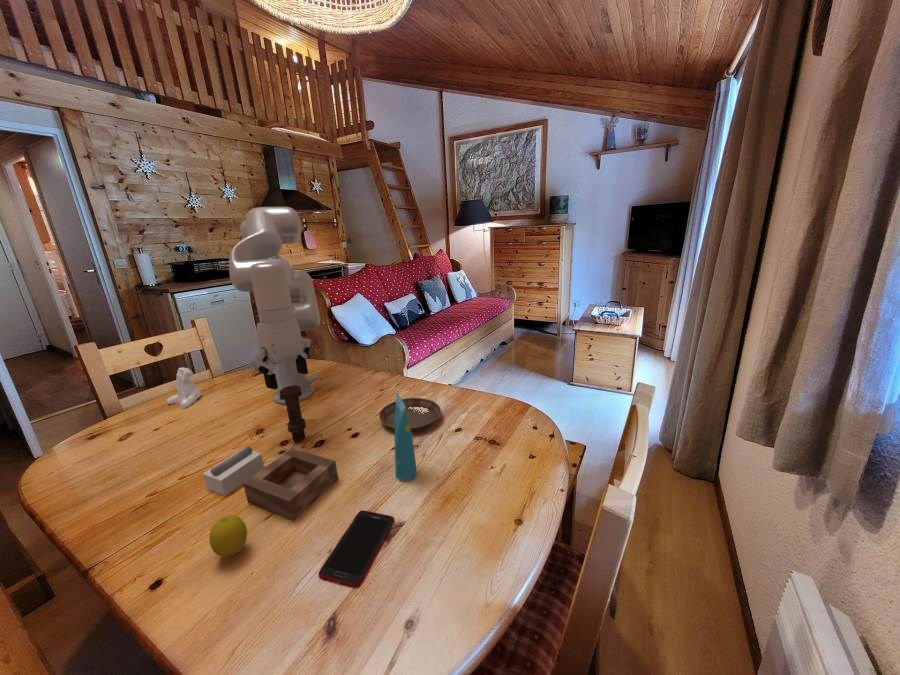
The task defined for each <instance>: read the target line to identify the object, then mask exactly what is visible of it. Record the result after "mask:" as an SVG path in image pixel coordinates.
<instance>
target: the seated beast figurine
mask: <svg viewBox="0 0 900 675" xmlns="http://www.w3.org/2000/svg"><path fill="white" fill-rule="evenodd" d="M176 372H177V373H176V381H177V383H176V384H177V385H176V386H175V387H176V390H177V394H175V395H172V396H171V395H170V397H168V398H166V403H167V405H169V404H171V405H174V404H173V403H179V404H178V405H179V407H180V409H182V408H185V409H187V408H189V407H191V406H192V405H193V404H194V403H195V402H196V401H198V400H199V399H200V397H201V393H202V391H201V389H200V388H199V387H198V386H196V384H195V383H194V382H193V380H191V377H192V376H193V374H194V371H192V370H191V369H190V368H188V367H184V366H183V367H179V368H178V369H177V371H176ZM198 398H199V399H198ZM197 399H198V400H197ZM192 403H193V404H192ZM191 404H192V405H191ZM169 406H170V405H169ZM188 406H189V407H188ZM186 407H187V408H186Z"/></svg>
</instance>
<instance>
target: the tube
mask: <svg viewBox="0 0 900 675" xmlns="http://www.w3.org/2000/svg"><path fill="white" fill-rule="evenodd" d="M395 401H396V406H395V431H394V468H395V469H394V472H395V474H394V475H395V478H396V479H397V480H399V481H402V482H409V481H412V480H413V479H414V478H416V476H417V472H418V470H417V462H416V455H415V453H416V452H415V449H414V447H415V446H414V440H413V435H412V434H413V433H411V428H410V424H409V420H408V417H407V414H406V411H405V408H406V407H405V405H404V403H403V401H402V398H401V396H400V394H399V393H398V392H396V398H395Z"/></svg>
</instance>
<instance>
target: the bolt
mask: <svg viewBox="0 0 900 675" xmlns="http://www.w3.org/2000/svg"><path fill="white" fill-rule="evenodd" d="M279 392H280V399H281V400H285V403H286V404H285V405H286V407H285V408H286V410H287V417H288V422H287V430H288V433H291V437H292V441H293V442H294V443H298V444H299V443H302V442H303V441H304V440H305V438H306V432H305V429H306V428H307V424H306V419H305V418H303V416H302V411H301V405H300V402H299V396H301V395H302V393H301V387H300V386H296V385H294V386H288V387H284V388H283V389H281V390H280V391H279Z"/></svg>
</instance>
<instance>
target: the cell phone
mask: <svg viewBox="0 0 900 675" xmlns="http://www.w3.org/2000/svg"><path fill="white" fill-rule="evenodd" d="M394 522H395V518H394V517H393V516H392V515H389V514H384V513H378V512H374V511H370V510H360V511H358V512H357V514H356V515H355V517H354V518H353V520H352V521H351V523H350V524H349V526H348V527H347V528H346V530H345V532H344V533H343V535H342V536H341V537H340V539H339V541H338V542H337V544H336V545H335V546H334V548H333V550H331V552H330V554H329V556H328V557H327V558H326V560H325V561H324V563H323V564H322V565H321V567H320V569H319V572H318V578H319V579H320V580H322V581H324V582H325V581H327V582H329V583H335V582H336V583H338V584H339V585H341V586H344V587H348V588H352V589H357V588H359V587H360V586H361V585H362V583H363V582H364V579H365V578H366V576H367V575H368V572H369V571H370V568H371V566H372V565H373V563H374V561H375V559H376V558H377V556H378V554H379V551H380V549H381V548H382V544H383V542H384V541H385V540H386V538H387V537H388V534H389V533H390V531H391V528H393V525H394Z"/></svg>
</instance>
